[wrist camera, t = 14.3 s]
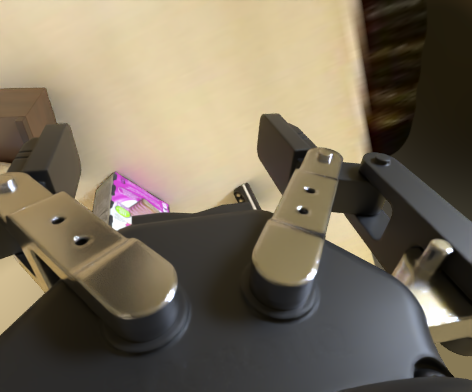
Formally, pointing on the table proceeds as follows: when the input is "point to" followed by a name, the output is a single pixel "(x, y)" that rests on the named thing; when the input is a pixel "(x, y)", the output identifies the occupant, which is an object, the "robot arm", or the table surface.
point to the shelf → (22, 118)
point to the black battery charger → (246, 196)
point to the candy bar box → (124, 202)
